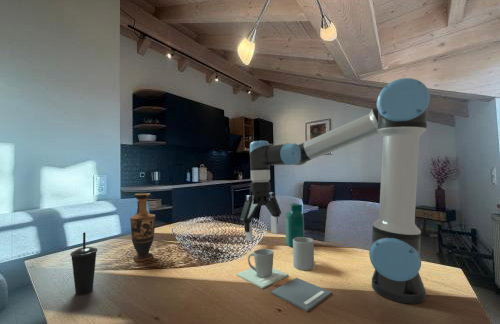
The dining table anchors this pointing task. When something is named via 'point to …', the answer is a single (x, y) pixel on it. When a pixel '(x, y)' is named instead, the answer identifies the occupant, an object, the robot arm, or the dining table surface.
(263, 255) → the cup
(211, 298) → the dining table surface
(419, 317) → the dining table surface
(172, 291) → the dining table surface
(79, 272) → the drinking cup
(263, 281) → the pad green
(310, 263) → the mug
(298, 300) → the pad slate
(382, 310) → the dining table surface
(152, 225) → the vase
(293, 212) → the green bottle
